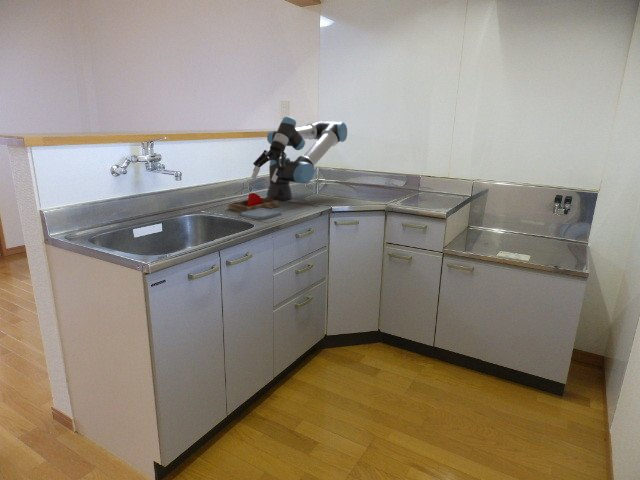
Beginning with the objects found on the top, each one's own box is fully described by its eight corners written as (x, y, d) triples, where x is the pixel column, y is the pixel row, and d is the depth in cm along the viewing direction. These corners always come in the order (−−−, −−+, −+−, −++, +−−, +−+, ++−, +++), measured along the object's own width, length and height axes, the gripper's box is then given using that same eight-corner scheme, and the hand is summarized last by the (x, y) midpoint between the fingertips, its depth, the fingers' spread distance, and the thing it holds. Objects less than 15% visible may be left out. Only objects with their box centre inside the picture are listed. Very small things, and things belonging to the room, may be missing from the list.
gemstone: (256, 208, 212) (265, 197, 218) (241, 199, 212) (251, 189, 219) (252, 219, 218) (262, 208, 225) (238, 211, 219) (248, 200, 225)
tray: (261, 210, 214) (261, 207, 213) (281, 214, 207) (281, 211, 206) (240, 215, 202) (240, 212, 202) (260, 220, 195) (260, 217, 195)
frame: (259, 202, 233) (259, 197, 232) (278, 206, 225) (278, 200, 224) (228, 209, 215) (228, 203, 214) (248, 213, 207) (248, 207, 206)
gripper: (257, 138, 222) (241, 173, 217) (294, 141, 209) (277, 178, 204) (265, 146, 228) (249, 180, 223) (301, 149, 215) (285, 186, 210)
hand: (263, 179), depth 213 cm, fingers open, 13 cm apart
